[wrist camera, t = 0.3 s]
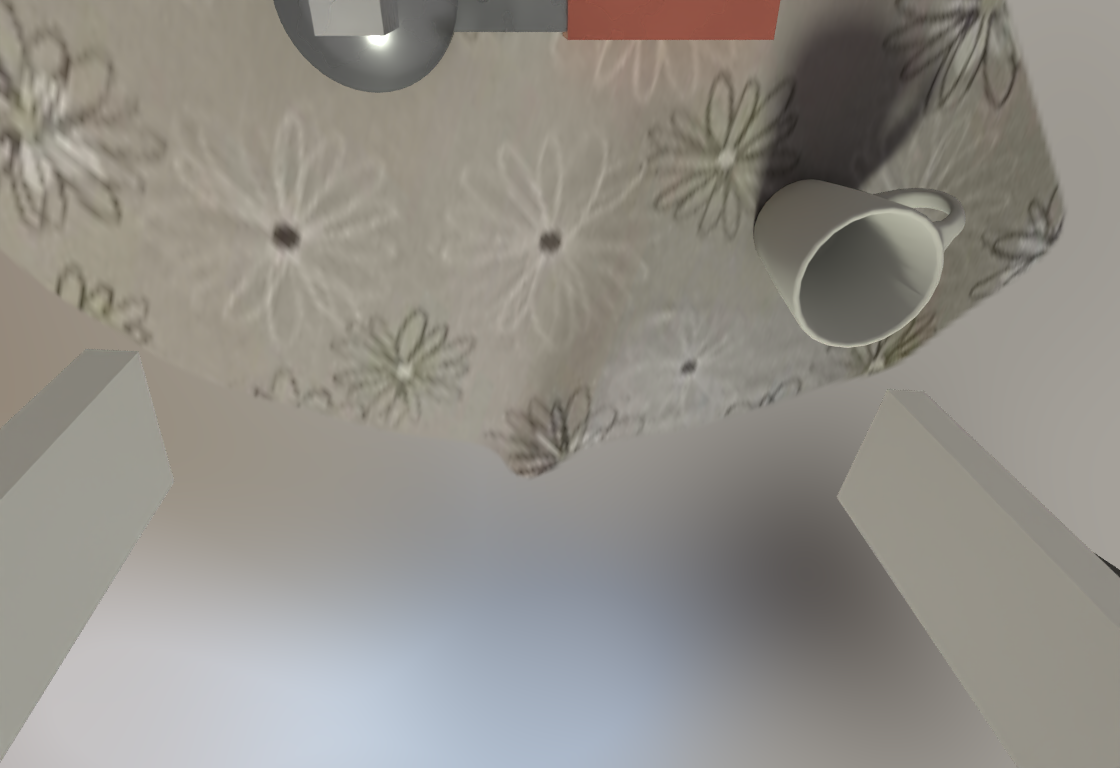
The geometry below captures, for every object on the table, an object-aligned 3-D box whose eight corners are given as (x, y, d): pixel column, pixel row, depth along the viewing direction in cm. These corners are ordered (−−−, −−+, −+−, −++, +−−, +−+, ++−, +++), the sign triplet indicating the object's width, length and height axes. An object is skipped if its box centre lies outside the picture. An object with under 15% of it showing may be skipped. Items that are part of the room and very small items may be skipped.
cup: (719, 201, 37) (774, 254, 30) (885, 114, 35) (986, 149, 28) (757, 303, 41) (814, 372, 34) (908, 230, 39) (1002, 286, 32)
